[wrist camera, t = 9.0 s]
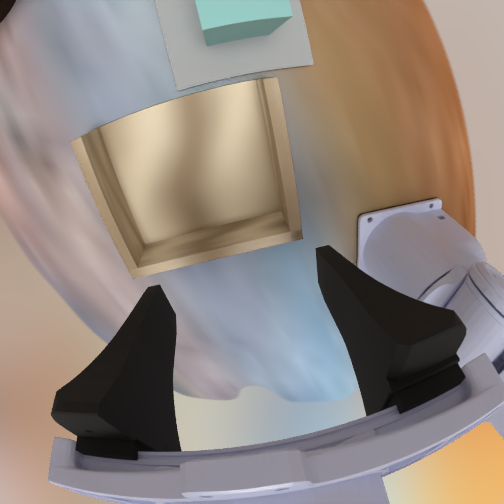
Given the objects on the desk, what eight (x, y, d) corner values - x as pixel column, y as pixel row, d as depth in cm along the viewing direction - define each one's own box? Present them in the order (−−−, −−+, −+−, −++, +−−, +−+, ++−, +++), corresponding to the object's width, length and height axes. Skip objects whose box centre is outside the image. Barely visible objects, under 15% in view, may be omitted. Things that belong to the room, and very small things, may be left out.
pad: (284, -42, 11) (286, -45, 10) (311, 65, 16) (313, 64, 15) (151, -19, 11) (150, -21, 10) (178, 90, 16) (177, 90, 16)
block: (256, -15, 12) (274, -50, 7) (269, 34, 14) (292, 16, 9) (194, -5, 12) (185, -38, 7) (206, 46, 14) (202, 30, 9)
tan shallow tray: (266, 77, 16) (277, 76, 13) (291, 215, 22) (302, 238, 20) (92, 130, 16) (70, 141, 14) (141, 252, 23) (133, 278, 20)
